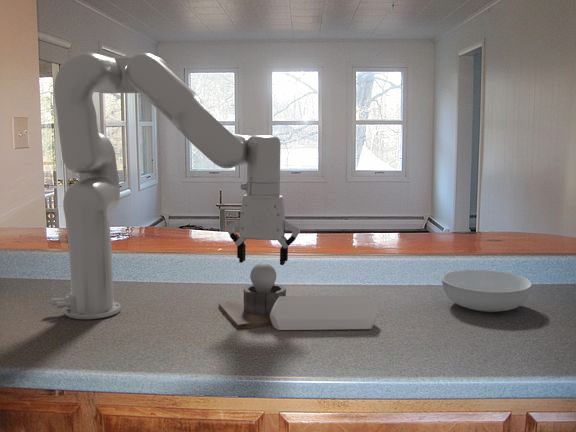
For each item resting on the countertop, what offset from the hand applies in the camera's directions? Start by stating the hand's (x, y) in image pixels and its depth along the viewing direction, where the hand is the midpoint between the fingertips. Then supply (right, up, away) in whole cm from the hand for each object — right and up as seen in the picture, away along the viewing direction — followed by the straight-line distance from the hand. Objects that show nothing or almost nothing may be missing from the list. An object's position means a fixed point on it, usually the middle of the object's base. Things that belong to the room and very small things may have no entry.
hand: (262, 262), depth 152 cm
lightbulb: (0, -11, +2) cm, 11 cm away
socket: (+1, -12, +2) cm, 12 cm away
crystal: (+14, -14, -7) cm, 21 cm away
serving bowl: (+54, -12, +7) cm, 56 cm away
